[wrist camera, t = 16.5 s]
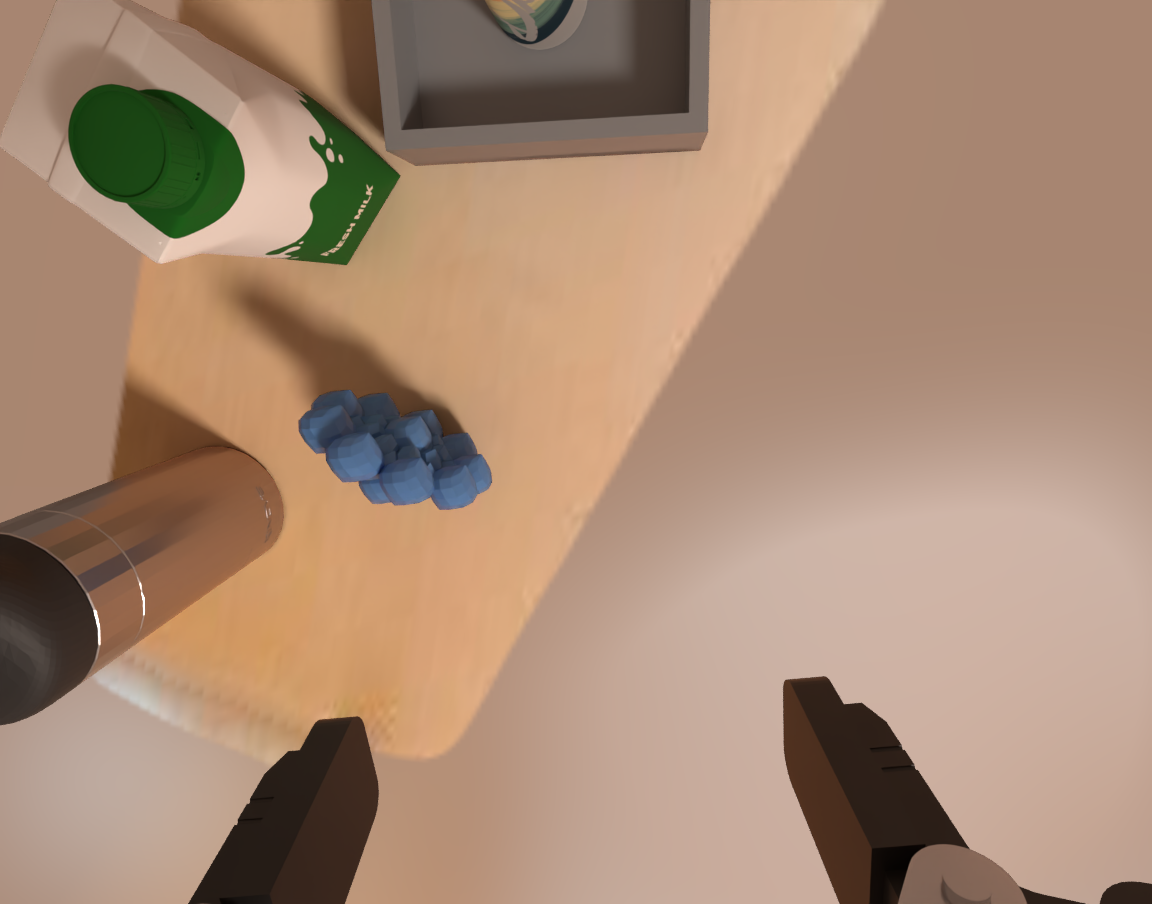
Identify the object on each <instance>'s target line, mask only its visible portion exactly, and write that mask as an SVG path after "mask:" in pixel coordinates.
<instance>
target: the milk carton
mask: <svg viewBox="0 0 1152 904" xmlns="http://www.w3.org/2000/svg"><path fill="white" fill-rule="evenodd" d="M0 147H1V148H2V149H3V150H5V151H6V152H7V153H9V154H10V155H12V156H13V157H14V158H16V159H17V160H18V161H20V162H21V163H23V164H24V165H25V166H26V167H28V168H29V169H31V170H32V171H33V172H35V173H36V174H37V175H39V176H40V177H41V178H43V179H44V180H46V181H47V182H48V186H49V187H50V188H51V189H52V190H54V191H55V192H56V193H58V194H59V195H60V196H62V197H63V198H65V199H66V200H68V201H69V202H71V203H72V204H74V205H76V206H78V207H79V208H80V209H82V210H83V211H85V212H86V213H87V214H88V215H90V216H91V217H93V218H94V219H96V220H97V221H99V222H100V223H101V224H102V225H104V226H105V227H107V228H108V229H109V230H111V231H112V232H114V233H115V234H116V235H118V236H119V237H121V238H122V239H123V240H125V241H126V242H128V243H129V244H130V245H132V246H133V247H135V248H136V249H137V250H139V251H140V252H142V253H143V254H144V255H146V256H147V257H149V258H150V259H151V260H153V261H154V262H156V263H160V264H163V263H167V262H171V261H174V260H178V259H182V258H186V257H190V256H194V255H197V254H201V253H203V254H218V255H233V256H248V257H262V258H277V259H289V260H299V261H310V262H321V263H331V264H341V265H347V264H348V262H349V261H350V259H351V257H352V256H353V254H354V252H355V251H356V249H357V247H358V246H359V244H360V242H361V241H362V239H363V237H364V236H365V234H366V232H367V231H368V229H369V227H370V226H371V224H372V222H373V221H374V219H375V217H376V216H377V214H378V213H379V211H380V209H381V208H382V206H383V204H384V203H385V201H386V199H387V198H388V196H389V194H390V193H391V191H392V189H393V188H394V186H395V184H396V183H397V181H398V179H399V178H400V175H399V174H398V173H397V172H396V171H395V170H394V169H393V168H391V167H390V166H389V165H388V164H387V163H386V162H385V161H384V160H383V159H382V158H381V157H380V156H379V155H377V154H376V153H375V152H374V151H373V150H372V149H371V148H370V147H369V146H368V145H367V144H366V143H364V142H363V141H362V140H361V139H360V138H359V137H358V136H357V135H356V134H355V133H354V132H352V131H351V130H350V129H349V128H348V127H346V126H345V125H344V124H343V123H342V122H341V121H339V120H338V119H337V118H336V117H334V116H333V115H332V114H331V113H330V112H328V111H327V110H326V109H325V108H323V107H322V106H321V105H320V104H319V103H317V102H316V101H315V100H313V99H312V98H311V97H309V96H308V95H306V94H305V93H303V92H302V91H300V90H299V89H297V88H295V87H294V86H292V85H290V84H288V83H286V82H285V81H283V80H281V79H279V78H278V77H276V76H274V75H272V74H271V73H269V72H267V71H265V70H263V69H262V68H260V67H258V66H256V65H255V64H253V63H251V62H249V61H247V60H246V59H244V58H242V57H240V56H239V55H237V54H235V53H233V52H232V51H230V50H228V49H226V48H224V47H223V46H221V45H219V44H217V43H215V42H213V41H211V40H209V39H208V38H206V37H205V36H204V35H203V34H201V33H200V32H199V31H197V30H196V29H194V28H191V27H189V26H187V25H184V24H182V23H179V22H177V21H174V20H170V19H167V18H164V17H162V16H160V15H158V14H156V13H154V12H153V11H150V10H149V9H147V8H145V7H143V6H141V5H139V4H137V3H135V2H133V1H131V0H56V2H55V5H54V7H53V10H52V12H51V15H50V17H49V19H48V22H47V24H46V27H45V29H44V32H43V34H42V36H41V39H40V41H39V44H38V46H37V49H36V51H35V54H34V56H33V58H32V61H31V63H30V66H29V68H28V71H27V73H26V75H25V78H24V80H23V83H22V85H21V87H20V90H19V93H18V95H17V97H16V100H15V102H14V104H13V107H12V109H11V112H10V114H9V117H8V119H7V122H6V124H5V126H4V129H3V131H2V134H1V136H0Z"/></svg>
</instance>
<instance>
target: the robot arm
mask: <svg viewBox="0 0 1152 904" xmlns="http://www.w3.org/2000/svg"><path fill="white" fill-rule="evenodd" d="M283 518H284V515H283V503H282V499H281V495H280V492H279V490H278V488H277V486H276V484H275V482H274V480H273V479H272V478H271V476H270V475H269V473H268V472H267V471H266V470H265V469H264V468H263V467H262V466H261V465H260V464H259V463H258V462H257V461H255V460H254V459H252V458H251V457H249V456H248V455H246V454H244V453H242V452H240V451H237V450H235V449H231V448H226V447H221V446H214V447H205V448H201V449H197V450H194V451H192V452H189V453H186V454H183V455H181V456H178V457H175V458H173V459H170V460H167V461H165V462H162V463H159V464H156V465H153V466H151V467H148V468H145V469H143V470H140V471H137V472H135V473H132V474H129V475H127V476H124V477H121V478H119V479H116V480H113V481H111V482H108V483H105V484H103V485H100V486H97V487H95V488H92V489H89V490H87V491H84V492H81V493H79V494H76V495H73V496H71V497H68V498H65V499H62V500H60V501H57V502H54V503H52V504H49V505H46V506H44V507H41V508H39V509H36V510H33V511H30V512H28V513H25V514H22V515H20V516H17V517H15V518H13V519H10V520H7V521H5V522H2V523H0V725H5V724H10V723H14V722H17V721H20V720H23V719H26V718H28V717H30V716H32V715H35V714H37V713H38V712H40V711H42V710H43V709H45V708H46V707H48V706H50V705H51V704H53V703H54V702H56V701H57V700H58V699H60V698H61V697H63V696H64V695H65V694H67V693H68V692H69V691H71V690H72V689H74V688H75V687H76V686H77V685H79V684H81V683H82V682H83V681H85V680H86V679H88V678H89V677H91V676H92V675H93V674H95V673H96V672H98V671H99V670H100V669H102V668H103V667H105V666H106V665H107V664H109V663H110V662H112V661H113V660H115V659H116V658H117V657H119V656H120V655H122V654H123V653H124V652H125V651H127V650H128V649H130V648H131V647H132V646H134V645H135V644H137V643H138V642H139V641H141V640H142V639H144V638H145V637H147V636H148V635H149V634H151V633H152V632H154V631H155V630H156V629H158V628H159V627H161V626H162V625H163V624H165V623H166V622H168V621H169V620H170V619H172V618H173V617H175V616H176V615H178V614H179V613H180V612H182V611H183V610H185V609H186V608H187V607H189V606H190V605H192V604H193V603H194V602H196V601H197V600H199V599H200V598H201V597H203V596H204V595H206V594H207V593H209V592H210V591H211V590H213V589H214V588H216V587H217V586H218V585H220V584H221V583H223V582H224V581H225V580H227V579H228V578H230V577H231V576H233V575H234V574H236V573H237V572H238V571H240V570H241V569H243V568H244V567H245V566H247V565H248V564H250V563H251V562H252V561H254V560H255V559H257V558H258V557H259V556H261V555H262V554H263V553H265V552H266V551H267V550H269V549H270V548H271V547H272V545H273V544H274V543H275V541H276V540H277V538H278V536H279V534H280V532H281V529H282V524H283ZM783 709H784V710H783V713H784V714H783V718H784V719H783V720H784V754H785V761H786V766H787V770H788V774H789V778H790V781H791V784H792V786H793V789H794V791H795V794H796V796H797V799H798V801H799V804H800V806H801V809H802V811H803V814H804V816H805V819H806V821H807V824H808V826H809V829H810V831H811V834H812V836H813V838H814V841H815V844H816V846H817V848H818V851H819V854H820V856H821V859H822V861H823V864H824V866H825V868H826V871H827V874H828V876H829V878H830V881H831V883H832V886H833V888H834V891H835V893H836V896H837V898H838V901H839V903H840V904H1085V903H1080V902H1075V901H1071V900H1066V899H1061V898H1056V897H1052V896H1047V895H1042V894H1039V893H1035V892H1032V891H1030V890H1027V889H1024V888H1021V887H1019V886H1018V885H1017V883H1016V882H1015V881H1014V880H1013V879H1012V877H1011V876H1010V875H1009V874H1008V873H1007V872H1006V871H1005V870H1003V869H1002V868H1001V867H1000V866H999V865H997V864H996V863H995V862H993V861H992V860H990V859H988V858H987V857H985V856H983V855H981V854H979V853H977V852H975V851H973V850H970V849H969V847H968V846H967V845H966V843H965V842H964V840H963V838H962V837H961V836H960V834H959V832H958V831H957V829H956V828H955V826H954V825H953V823H952V822H951V820H950V819H949V817H948V815H947V814H946V812H945V811H944V809H943V808H942V806H941V805H940V803H939V802H938V800H937V799H936V797H935V796H934V794H933V793H932V791H931V789H930V788H929V786H928V785H927V783H926V782H925V780H924V779H923V778H922V776H921V774H920V773H919V771H918V770H916V769H915V766H914V763H913V762H912V760H911V759H910V757H909V756H908V754H907V753H906V751H905V750H903V749H902V745H901V744H900V742H899V740H898V739H897V737H896V736H895V735H894V733H893V732H892V730H891V728H890V727H889V725H888V724H887V722H886V721H885V720H883V719H882V718H881V717H879V716H878V715H877V714H875V713H874V712H873V711H872V710H870V709H869V708H868V707H866V706H865V705H864V704H863V703H854V704H843V702H842V700H841V699H840V697H839V695H838V694H837V692H836V690H835V688H834V687H833V685H832V683H831V682H830V680H829V679H828V678H827V677H824V676H823V677H812V678H800V679H790V680H785V682H784V686H783ZM378 795H379V790H378V780H377V775H376V771H375V767H374V763H373V759H372V755H371V751H370V747H369V743H368V739H367V735H366V731H365V727H364V723H363V721H362V719H361V718H360V717H358V716H356V717H345V718H334V719H322V720H318V721H317V722H316V723H315V724H314V726H313V727H312V729H311V731H310V733H309V735H308V736H307V738H306V740H305V742H304V744H303V746H302V747H301V749H300V750H298V751H288V752H287V753H286V754H285V755H284V756H283V757H282V758H281V759H280V760H279V761H278V762H277V763H276V764H275V765H274V766H272V767H271V768H270V769H269V770H268V771H267V772H266V773H265V774H264V776H263V778H262V779H261V781H260V783H259V785H258V786H257V788H256V790H255V791H254V793H253V795H252V796H251V798H250V803H249V804H247V805H246V807H245V808H244V810H243V812H242V813H241V815H240V817H239V819H238V824H237V825H234V827H233V829H232V831H231V832H230V834H229V835H228V837H227V839H226V841H225V843H224V844H223V846H222V848H221V849H220V851H219V852H218V854H217V856H216V858H215V859H214V861H213V863H212V864H211V866H210V868H209V870H208V871H207V873H206V874H205V876H204V878H203V880H202V882H201V883H200V885H199V886H198V888H197V890H196V891H195V893H194V895H193V897H192V898H191V900H190V902H189V903H188V904H345V902H346V899H347V896H348V893H349V890H350V887H351V885H352V882H353V879H354V876H355V873H356V870H357V867H358V865H359V862H360V859H361V856H362V853H363V850H364V847H365V844H366V842H367V839H368V836H369V833H370V830H371V827H372V825H373V822H374V819H375V815H376V811H377V806H378ZM1100 904H1152V884H1148V883H1142V882H1121V883H1118V884H1114V885H1112V886H1111V887H1109V888H1107V889H1106V891H1105V892H1104V893H1103V895H1102V898H1101V901H1100Z"/></svg>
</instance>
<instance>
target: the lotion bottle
mask: <svg viewBox="0 0 1152 904" xmlns="http://www.w3.org/2000/svg"><path fill="white" fill-rule="evenodd" d="M485 2H486V4H487V5H488V7H489V9H490V11H491V12H492V14H493V16H494V18H495V19H496V21H497V22H498V24H499V26H500V27H501V28H502V30H503V31H504V32H505V33H506V35H507V36H508V37H509V38H511V39H512V40H513V41H514V42H516V43H518V44H519V45H521V46H524V47H526V48H530V49H535V50H543V49H549V48H553V47H555V46H558V45H559V44H561V43H563V42H564V41H566V40H567V39H568V38H569V37H570V36H571V35H572V34H573V33H574V32H575V31H576V29H577V28H578V26H579V25H580V23H581V21H582V18H583V16H584V13H585V10H586V6H587V0H485Z"/></svg>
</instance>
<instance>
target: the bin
mask: <svg viewBox="0 0 1152 904" xmlns="http://www.w3.org/2000/svg"><path fill="white" fill-rule="evenodd" d="M371 2H372V12H373V22H374V33H375V43H376V53H377V64H378V74H379V84H380V95H381V105H382V115H383V126H384V136H385V146H386V151H388V152H390V153H392V154H394V155H396V156H398V157H400V158H402V159H404V160H406V161H407V162H409V163H411V164H413V165H415V166H421V165H439V164H458V163H476V162H495V161H513V160H532V159H550V158H569V157H587V156H606V155H624V154H643V153H662V152H680V151H699V150H700V149H701V147H702V145H703V142H704V140H705V138H706V135H707V133H708V93H709V35H710V0H587V6H586V10H585V13H584V16H583V18H582V21H581V23H580V25H579V26H578V28H577V29H576V31H575V32H574V33H573V34H572V35H571V36H570V37H569V38H568V39H567V40H566V41H564V42H563V43H561V44H559V45H558V46H555V47H553V48H549V49H543V50H535V49H530V48H526V47H524V46H521V45H519V44H518V43H516V42H514V41H513V40H512V39H511V38H509V37H508V36H507V35H506V33H505V32H504V31H503V30H502V28H501V27H500V26H499V24H498V22H497V21H496V19H495V18H494V16H493V14H492V12H491V11H490V9H489V7H488V5H487V4H486V2H485V0H371Z"/></svg>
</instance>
